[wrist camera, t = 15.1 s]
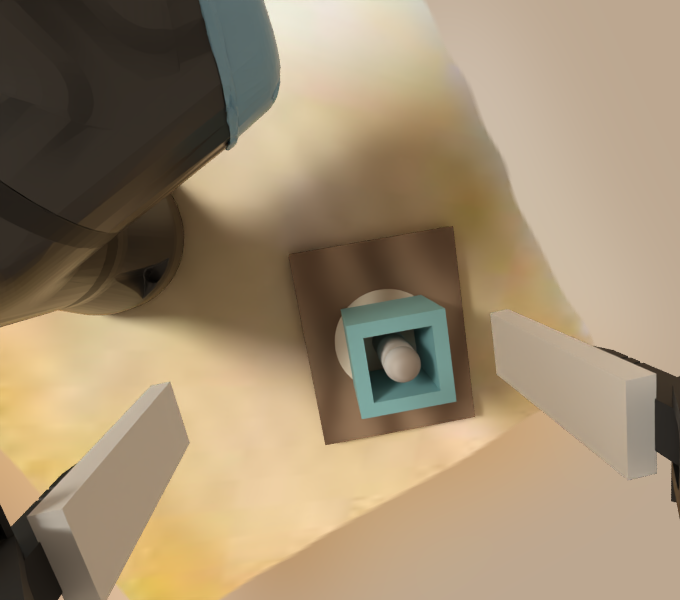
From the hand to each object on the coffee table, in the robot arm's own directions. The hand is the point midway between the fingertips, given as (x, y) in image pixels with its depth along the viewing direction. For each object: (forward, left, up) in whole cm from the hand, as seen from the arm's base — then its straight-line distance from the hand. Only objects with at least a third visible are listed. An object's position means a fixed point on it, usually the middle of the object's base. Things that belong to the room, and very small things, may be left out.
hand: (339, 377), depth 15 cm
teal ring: (+5, -6, -21) cm, 23 cm away
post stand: (+5, -6, -23) cm, 24 cm away
